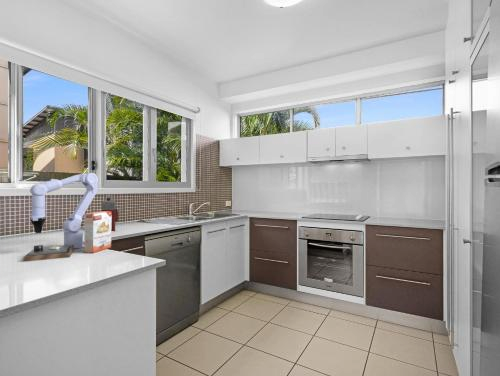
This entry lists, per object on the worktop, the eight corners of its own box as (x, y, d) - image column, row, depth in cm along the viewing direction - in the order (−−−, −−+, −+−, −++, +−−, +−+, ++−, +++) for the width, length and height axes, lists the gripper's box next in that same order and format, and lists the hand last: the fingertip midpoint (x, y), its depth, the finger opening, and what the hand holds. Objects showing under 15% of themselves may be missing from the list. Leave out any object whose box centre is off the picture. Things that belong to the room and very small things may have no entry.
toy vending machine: (118, 231, 211) (118, 194, 211) (102, 232, 205) (102, 195, 205) (117, 229, 219) (117, 194, 218) (101, 230, 213) (101, 194, 213)
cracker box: (93, 253, 143) (93, 213, 143) (83, 252, 145) (83, 213, 144) (112, 247, 157) (112, 211, 157) (102, 247, 158) (103, 210, 158)
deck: (70, 246, 148) (70, 240, 148) (66, 252, 136) (66, 245, 136) (36, 249, 141) (35, 243, 141) (29, 255, 130) (28, 249, 130)
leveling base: (73, 250, 150) (73, 244, 150) (69, 257, 136) (69, 250, 136) (32, 253, 142) (32, 247, 142) (23, 261, 128) (23, 254, 128)
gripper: (32, 206, 149) (32, 231, 149) (25, 208, 136) (25, 235, 136) (48, 206, 152) (48, 230, 152) (42, 208, 139) (42, 234, 139)
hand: (38, 233), depth 144 cm, fingers closed
